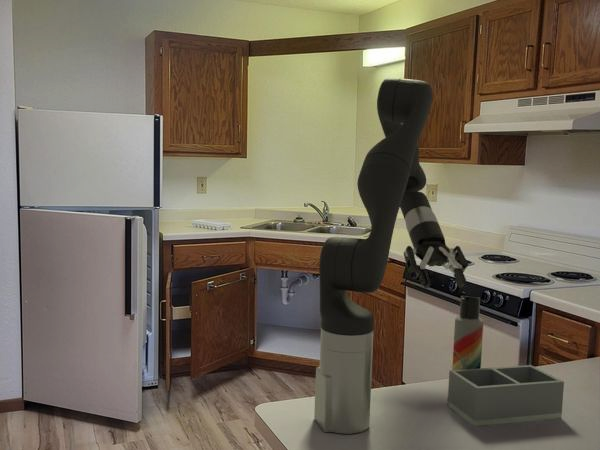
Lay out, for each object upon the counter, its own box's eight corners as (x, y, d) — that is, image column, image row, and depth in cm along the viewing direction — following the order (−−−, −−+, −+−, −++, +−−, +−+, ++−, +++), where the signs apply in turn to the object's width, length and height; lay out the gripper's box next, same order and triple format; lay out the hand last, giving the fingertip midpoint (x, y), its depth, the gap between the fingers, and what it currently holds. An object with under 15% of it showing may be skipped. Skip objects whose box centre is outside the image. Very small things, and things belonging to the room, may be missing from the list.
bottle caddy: (474, 426, 105) (476, 388, 105) (447, 405, 114) (449, 370, 114) (561, 417, 110) (564, 381, 110) (528, 398, 119) (531, 365, 119)
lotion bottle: (448, 390, 122) (453, 296, 121) (454, 382, 127) (459, 291, 126) (476, 396, 120) (482, 299, 118) (481, 387, 125) (487, 295, 123)
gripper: (402, 219, 137) (422, 276, 127) (456, 220, 141) (480, 275, 131) (391, 239, 143) (410, 295, 133) (444, 239, 146) (466, 294, 136)
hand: (445, 285), depth 132 cm, fingers open, 8 cm apart
